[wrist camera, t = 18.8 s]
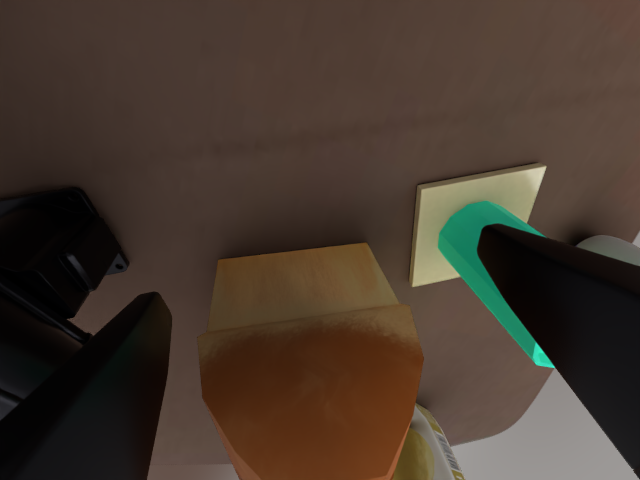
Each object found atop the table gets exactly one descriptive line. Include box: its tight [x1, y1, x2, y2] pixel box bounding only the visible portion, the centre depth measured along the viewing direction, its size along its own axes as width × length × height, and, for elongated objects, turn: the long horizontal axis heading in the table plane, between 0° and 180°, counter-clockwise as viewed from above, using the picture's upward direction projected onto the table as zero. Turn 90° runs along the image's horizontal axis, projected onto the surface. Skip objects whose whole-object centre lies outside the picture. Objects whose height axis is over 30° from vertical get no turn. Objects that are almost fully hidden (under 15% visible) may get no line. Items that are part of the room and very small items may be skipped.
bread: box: [197, 242, 424, 480], centre depth 25 cm, size 25×12×15 cm, turn 1°
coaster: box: [409, 163, 546, 287], centre depth 25 cm, size 10×10×1 cm
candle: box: [438, 201, 555, 368], centre depth 20 cm, size 6×6×12 cm
